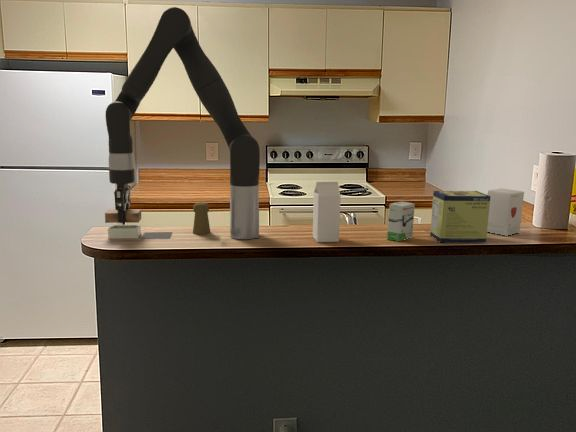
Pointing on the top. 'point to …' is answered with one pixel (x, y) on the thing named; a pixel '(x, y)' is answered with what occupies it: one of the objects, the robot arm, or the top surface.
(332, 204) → the milk carton
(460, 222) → the protein box
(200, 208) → the cork
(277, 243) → the top surface
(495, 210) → the supplement box
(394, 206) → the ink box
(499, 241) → the top surface
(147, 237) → the mat
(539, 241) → the top surface
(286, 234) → the top surface
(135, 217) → the lid
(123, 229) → the dish
